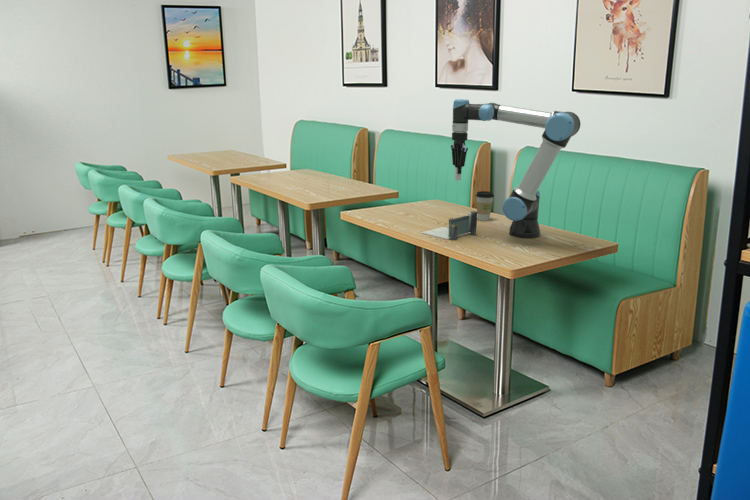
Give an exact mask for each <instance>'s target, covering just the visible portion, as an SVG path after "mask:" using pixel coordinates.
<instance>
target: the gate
mask: <svg viewBox="0 0 750 500" xmlns="http://www.w3.org/2000/svg"><path fill="white" fill-rule="evenodd" d="M452 224H457V226H458V227H457V235H461V234H464V233H470V232H471V213H467V215H464V216H460V217H454V216H449V219H448V228H449V235H448V237H451V225H452Z"/></svg>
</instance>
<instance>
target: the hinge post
mask: <svg viewBox="0 0 750 500" xmlns="http://www.w3.org/2000/svg"><path fill="white" fill-rule="evenodd" d="M470 214H471V232H469V234H470V235H471V236H476V235H477V223H478V212H477V210H476V211H475V210H474V211H470Z"/></svg>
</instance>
